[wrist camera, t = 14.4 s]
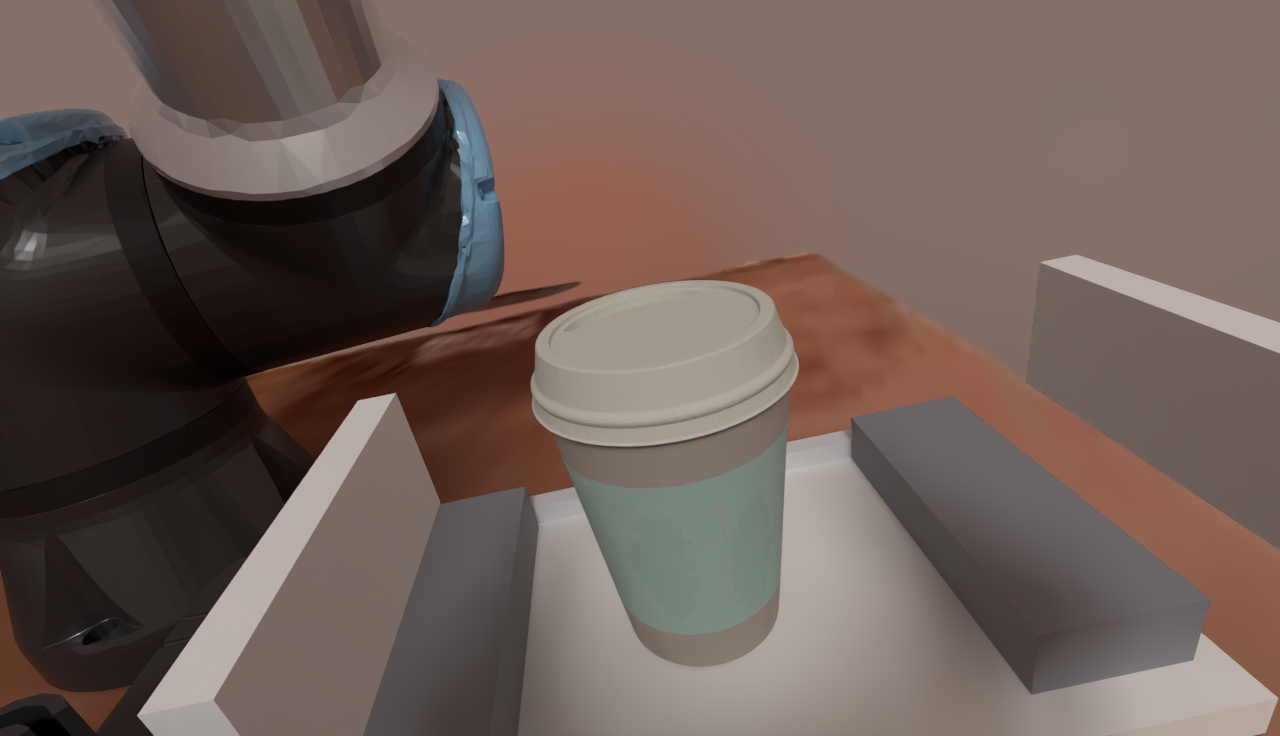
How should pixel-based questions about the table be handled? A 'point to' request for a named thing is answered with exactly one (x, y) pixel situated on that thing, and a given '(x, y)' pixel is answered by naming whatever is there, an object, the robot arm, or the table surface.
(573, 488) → the rail plate
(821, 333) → the table surface
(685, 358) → the coffee cup
